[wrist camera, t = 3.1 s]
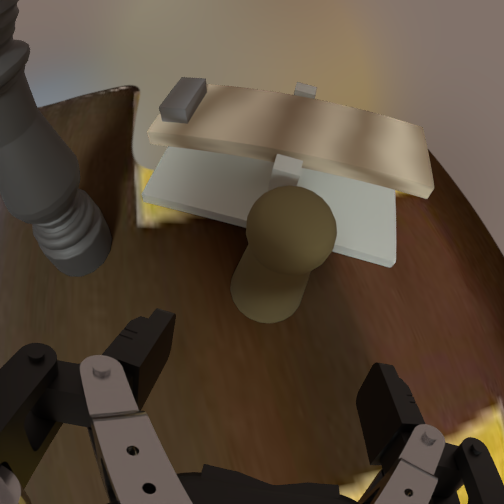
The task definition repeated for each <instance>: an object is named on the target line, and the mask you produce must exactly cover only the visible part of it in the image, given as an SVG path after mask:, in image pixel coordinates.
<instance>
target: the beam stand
mask: <svg viewBox="0 0 504 504" xmlns="http://www.w3.org/2000/svg"><path fill="white" fill-rule="evenodd" d="M316 89H317V87H314V86H311V85H307V84H303V83H300V82H297V84H296V88H295V92H294V95H297V96H302V97H307V98H313V99H314V98H315V95H316ZM302 164H303V161H302V160H299V159H295V158H292V157H288V156H284V155H280V154H277V155H276V159H275V162H270V161H265V160H259V159H253V158H247V157H241V156H235V155H229V154H222V153H216V152H209V151H202V150H194V149H187V148H179V147H170V146H168V148H167V149H166V151H165V153H164V155H163V156H162V158H161V160H160V161H159V163H158V165H157V167H156V169H155V170H154V172H153V174H152V176H151V178H150V179H149V181H148V183H147V185H146V187H145V189H144V191H143V192H142V197H143V201H144V202H146V203H151V204H155V205H159V206H163V207H167V208H171V209H175V210H178V211H182V212H186V213H190V214H194V215H198V216H202V217H206V218H210V219H214V220H218V221H221V222H225V223H229V224H233V225H237V226H241V227H244V228H246V223H247V216H248V214H249V212H250V210H251V208H252V206H253V204H254V203H255V201H256V200H257V199H258V198H259V197H261V196H262V195H263V194H264V193H265V192H268V191H270V190H272V189H274V188H277V187H281V186H289V185H291V186H299V187H303V188H306V189H308V190H311V191H313V192H314V193H316V194H317V195H319V196H320V197H321V198H323V199H324V201H325V202H326V203H327V204H328V205H329V207H330V209H331V211H332V213H333V215H334V218H335V220H336V226H337V237H336V241H335V244H334V248H333V252H336V253H340V254H343V255H347V256H351V257H354V258H358V259H361V260H365V261H368V262H372V263H375V264H379V265H382V266H386V267H389V268H390V267H391V266H392V265H394V264H395V263H396V204H395V190H394V189H390V188H386V187H382V186H379V185H375V184H371V183H367V182H363V181H359V180H355V179H351V178H346V177H342V176H338V175H333V174H329V173H324V172H320V171H315V170H311V169H306V168H302Z"/></svg>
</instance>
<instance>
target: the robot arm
mask: <svg viewBox="0 0 504 504" xmlns="http://www.w3.org/2000/svg"><path fill="white" fill-rule="evenodd" d="M175 319H176V315H175V314H174V313H171V312H168V311H165V310H161V309H158V308H157V309H156V310H155V311H154V312H153V314H152V315H151V316H150V317H149V319H148V318H145V317H142V316H140V317H138V318H136V319H134V320H131V321H130V322H129V323H128V324H127V326H126V327H125V328H124V330H122V331H121V333H120V334H119V335H118V336H117V337H116V339H115V340H114V341H113V342H112V343H111V344H110V346H109V347H108V348H107V349H106V350H105V352H104V353H103V354H102V355H94V356H90V357H88V358H86V359H85V360H83V361H82V363H81V364H75V363H69V362H64V361H59V360H57V355H56V352H55V351H54V350H53V349H52V348H51V347H49V346H48V345H45V344H41V343H32V344H28V345H25V346H23V347H22V348H21V349H20V350H19V351H18V352H17V353H16V354H15V355H14V356H13V357H12V358H11V359H10V360H9V361H8V362H7V363H6V364H5V365H4V366H3V367H2V368H1V369H0V504H31V501H30V498H29V497H28V495H27V493H26V492H25V490H24V488H25V487H26V485H27V483H28V481H29V480H30V478H31V476H32V474H33V472H34V471H35V469H36V467H37V466H38V464H39V462H40V460H41V459H42V457H43V455H44V454H45V452H46V450H47V449H48V447H49V445H50V444H51V442H52V440H53V439H54V437H55V435H56V434H57V432H58V430H59V429H60V427H61V426H62V424H63V423H68V424H73V425H79V426H84V427H87V429H88V433H89V437H90V441H91V444H92V448H93V451H94V455H95V458H96V461H97V464H98V468H99V471H100V475H101V478H102V482H103V485H104V488H105V491H106V494H107V497H108V499H109V502H110V503H108V504H460V501H459V498H458V494H457V490H458V489H459V488H460V487H461V486H462V485H465V488H466V491H467V494H468V504H504V485H503V482H502V480H501V478H500V475H499V473H498V471H497V468H496V466H495V464H494V462H493V459H492V457H491V455H490V453H489V451H488V449H487V447H486V446H485V444H484V443H482V442H481V441H480V440H478V439H476V438H471V437H470V438H466V439H465V440H464V441H463V442H462V443H461V444H460V445H459V446H456V445H452V444H449V443H445V439H444V436H443V435H442V433H441V432H440V431H439V430H438V429H436V428H435V427H433V426H430V425H427V424H425V422H424V420H423V417H422V415H421V413H420V411H419V408H418V406H417V404H415V399H414V397H412V393H411V391H410V389H409V387H408V385H407V384H406V383H405V382H404V381H403V380H402V379H401V378H399V377H398V374H397V372H396V370H395V368H394V366H393V365H388V364H382V363H374V364H373V366H372V367H371V369H370V371H369V373H368V375H367V377H366V379H365V380H364V382H363V384H362V386H361V388H360V390H359V392H358V394H357V399H356V406H357V410H358V414H359V418H360V422H361V427H362V431H363V435H364V439H365V444H366V448H367V453H368V457H369V462H370V465H382V469H381V471H380V472H379V473H378V474H377V476H376V477H375V479H374V480H373V482H372V483H371V484H370V486H369V487H368V489H367V490H366V492H365V493H364V494H363V496H362V497H361V498H360V500H359V501H358V502H356V501H355V500H353V499H351V498H348V497H346V496H343V495H340V494H339V485H330V484H317V483H299V484H288V485H271V484H268V483H265V482H263V481H260V480H257V479H255V478H252V477H250V476H247V475H245V474H242V473H240V472H237V471H232V470H227V469H223V468H219V467H214V466H210V465H206V464H204V466H203V469H202V472H201V473H198V472H191V473H180V474H176V473H175V471H174V469H173V467H172V465H171V463H170V461H169V459H168V457H167V455H166V453H165V451H164V449H163V447H162V445H161V443H160V441H159V439H158V437H157V435H156V433H155V430H154V428H153V426H152V424H151V422H150V419H149V417H148V415H147V414H146V412H145V411H141V409H142V407H143V405H144V403H145V401H146V400H147V398H148V396H149V394H150V392H151V390H152V388H153V386H154V384H155V383H156V381H157V379H158V377H159V375H160V373H161V371H162V369H163V367H164V366H165V364H166V362H167V360H168V357H169V354H170V350H171V345H172V339H173V332H174V325H175Z"/></svg>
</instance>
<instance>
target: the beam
mask: <svg viewBox="0 0 504 504" xmlns="http://www.w3.org/2000/svg"><path fill="white" fill-rule="evenodd" d="M159 110H160V113H159V115H158V116H157V118H156V119H155V120H154V122H153V123H152V125H151V126H150V128H149V129H148V131H147V134H148V138H149V141H150V144H152V145H162V146H170V147H179V148H187V149H194V150H202V151H209V152H216V153H222V154H229V155H235V156H241V157H247V158H253V159H259V160H265V161H270V162H275V159H276V155H277V154H280V155H284V156H288V157H292V158H295V159H299V160H302V161H303V164H302V168H306V169H311V170H315V171H320V172H324V173H329V174H333V175H338V176H342V177H346V178H351V179H355V180H359V181H363V182H367V183H371V184H375V185H379V186H382V187H386V188H390V189H394V190H397V191H401V192H404V193H408V194H412V195H415V196H418V197H422V198H425V199H427V198H428V197H429V195H430V194H431V192H432V191H433V189H434V182H433V176H432V170H431V165H430V159H429V154H428V149H427V144H426V139H425V135H424V130H423V127H420V126H417V125H414V124H411V123H407V122H404V121H401V120H398V119H394V118H391V117H387V116H384V115H380V114H376V113H373V112H369V111H365V110H362V109H358V108H354V107H349V106H345V105H341V104H336V103H332V102H327V101H322V100H318V99H313V98H307V97H302V96H297V95H290V94H285V93H279V92H272V91H265V90H258V89H249V88H241V87H232V86H223V85H212V84H206V79H202V78H185V77H182V78H181V79H180V80H179V82H178V83H177V84H176V85H175V87H174V88H173V89H172V90H171V92H170V93H169V94H168V96H167V97H166V98H165V100H164V101H163V102H162V104H161V105H160V107H159Z"/></svg>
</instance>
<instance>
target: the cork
mask: <svg viewBox="0 0 504 504" xmlns="http://www.w3.org/2000/svg"><path fill="white" fill-rule="evenodd" d="M246 237H247V240H248V246H247V248H246V250H245V252H244V254H243V256H242V258H241V260H240V262H239V264H238V266H237V268H236V270H235V272H234V274H233V276H232V279H231V288H230V291H231V295H232V299H233V301H234V303H235V304H236V306H237V308H238V309H239V311H241V312H242V313H243V314H244V315H246V316H247V317H248V318H250V319H252V320H255V321H257V322H261V323H275V322H279V321H283V320H285V319H286V318H288V317H289V316H291V315H292V314H293V313H294V312H295V311H296V309H297V308H298V307H299V305H300V302H301V299H302V296H303V294H304V291H305V288H306V285H307V282H308V279H309V276H310V273H311V271H312V270H314V269H315V268H317V267H318V266H320V265H322V264H323V262H324V261H325V260H326V259H327V257H328V256H329V255H330V253H331V252H332V251H333V248H334V244H335V241H336V237H337V226H336V220H335V218H334V215H333V213H332V211H331V209H330V207H329V205H328V204H327V203H326V202H325V201H324V199H323V198H321V197H320V196H319V195H317V194H316V193H314V192H313V191H311V190H308V189H306V188H303V187H299V186H291V185H289V186H281V187H277V188H274V189H272V190H270V191H268V192H265V193H264V194H263V195H262V196H261V197H259V198H258V199H257V200H256V201H255V203H254V204H253V206H252V208H251V210H250V212H249V214H248V216H247V223H246Z"/></svg>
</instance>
